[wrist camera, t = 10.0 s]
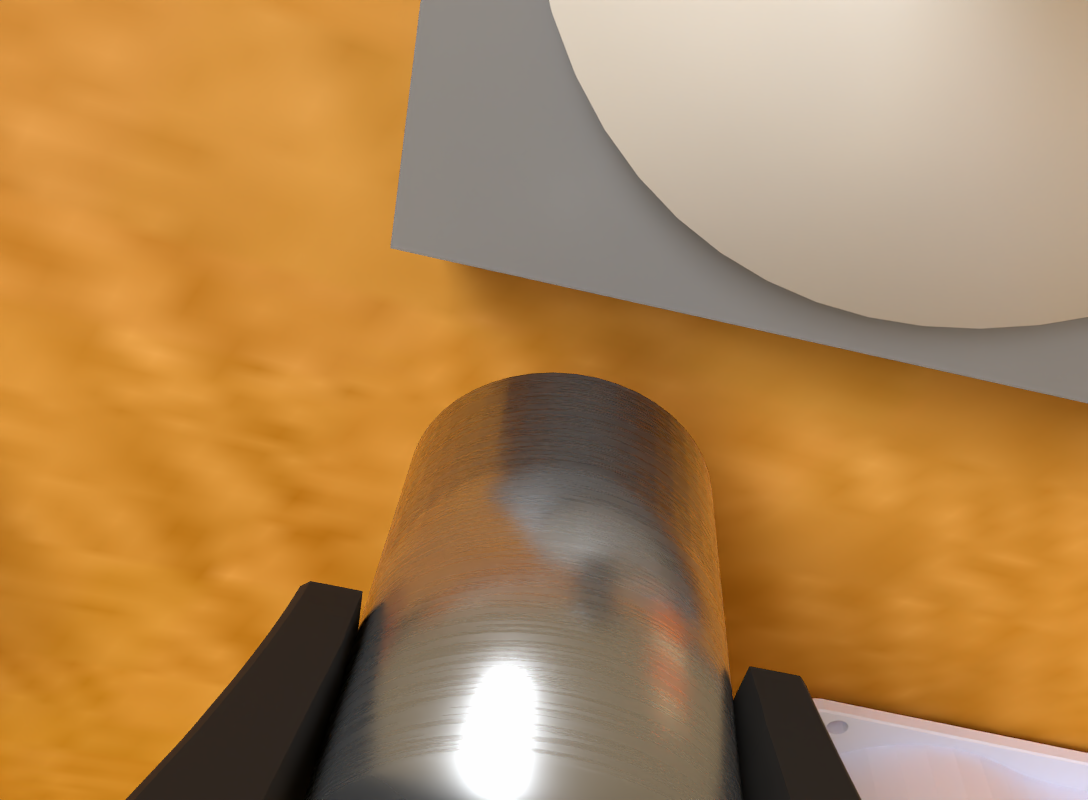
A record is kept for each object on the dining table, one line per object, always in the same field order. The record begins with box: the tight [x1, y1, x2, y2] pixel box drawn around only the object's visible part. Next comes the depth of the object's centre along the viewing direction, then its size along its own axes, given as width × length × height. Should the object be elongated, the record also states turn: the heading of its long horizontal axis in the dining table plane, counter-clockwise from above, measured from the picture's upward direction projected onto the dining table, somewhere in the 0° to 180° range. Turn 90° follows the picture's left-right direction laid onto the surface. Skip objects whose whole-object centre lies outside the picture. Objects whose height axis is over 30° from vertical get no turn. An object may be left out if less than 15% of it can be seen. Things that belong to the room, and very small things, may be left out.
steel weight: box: [304, 373, 743, 800], centre depth 12 cm, size 4×4×6 cm
